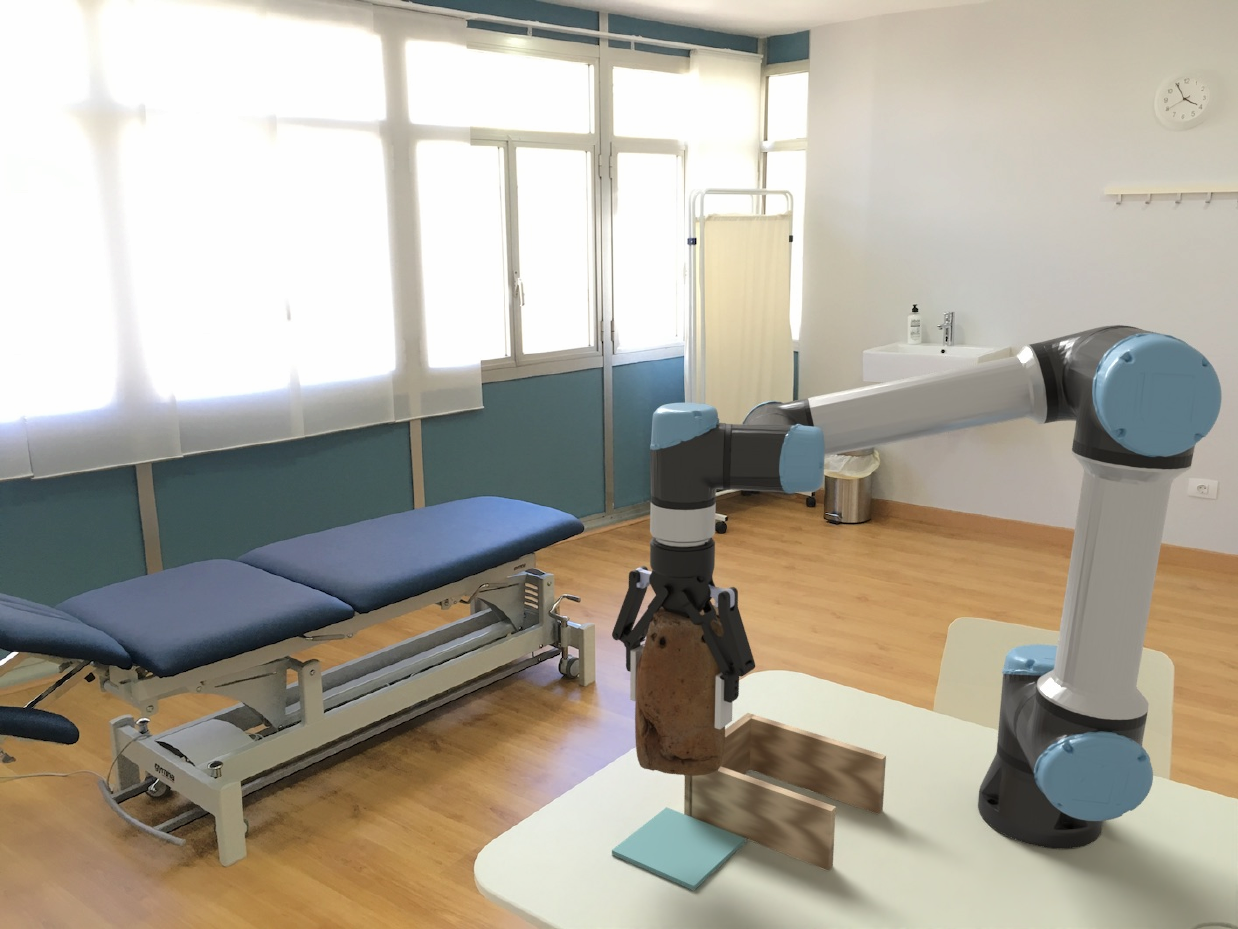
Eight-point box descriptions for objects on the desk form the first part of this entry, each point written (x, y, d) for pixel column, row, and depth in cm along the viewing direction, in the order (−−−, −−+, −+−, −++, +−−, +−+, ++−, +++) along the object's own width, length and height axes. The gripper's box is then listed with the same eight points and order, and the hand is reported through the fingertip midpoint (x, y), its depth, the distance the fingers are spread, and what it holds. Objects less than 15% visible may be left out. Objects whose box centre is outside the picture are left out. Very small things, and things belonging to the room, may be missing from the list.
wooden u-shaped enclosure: (882, 810, 137) (886, 755, 135) (828, 871, 124) (831, 811, 122) (746, 763, 149) (747, 712, 147) (684, 814, 136) (684, 759, 135)
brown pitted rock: (721, 750, 130) (725, 599, 125) (725, 781, 123) (729, 623, 118) (635, 748, 130) (636, 598, 126) (633, 779, 123) (634, 621, 118)
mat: (745, 842, 130) (745, 838, 130) (693, 890, 121) (693, 886, 121) (666, 811, 137) (666, 807, 137) (611, 854, 128) (611, 850, 128)
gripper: (789, 547, 116) (782, 726, 121) (619, 513, 130) (619, 674, 135) (756, 565, 110) (750, 751, 115) (582, 527, 124) (583, 695, 129)
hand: (680, 710), depth 125 cm, fingers closed on brown pitted rock, 11 cm apart
